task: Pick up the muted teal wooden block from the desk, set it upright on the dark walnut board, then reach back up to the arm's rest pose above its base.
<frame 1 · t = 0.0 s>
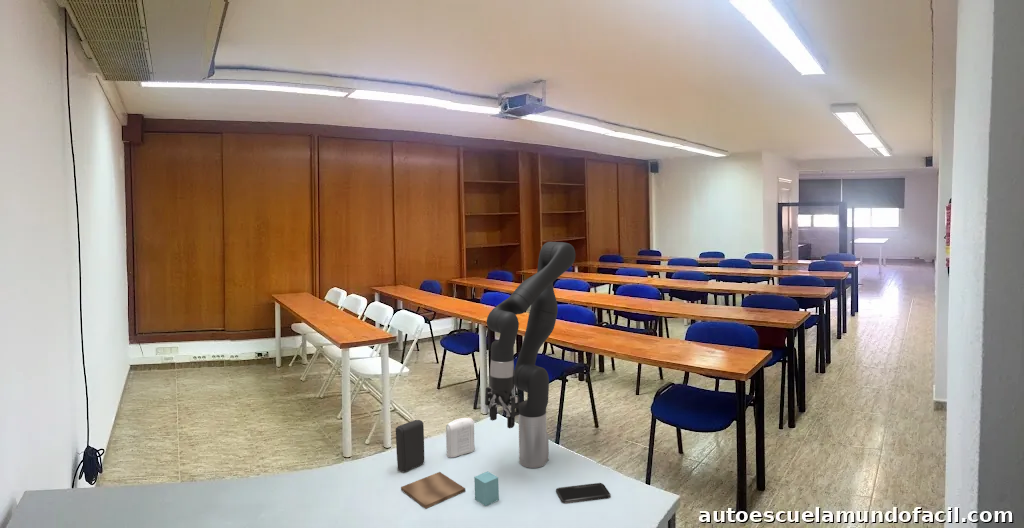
hand: (501, 423, 171), 17 cm above the table, tool pointing down, fingers open, 8 cm apart
teal block: (486, 499, 159), on the table
card reader: (411, 467, 180), on the table
phone: (582, 495, 161), on the table
walnut board: (433, 490, 164), on the table
photo printer: (460, 453, 189), on the table
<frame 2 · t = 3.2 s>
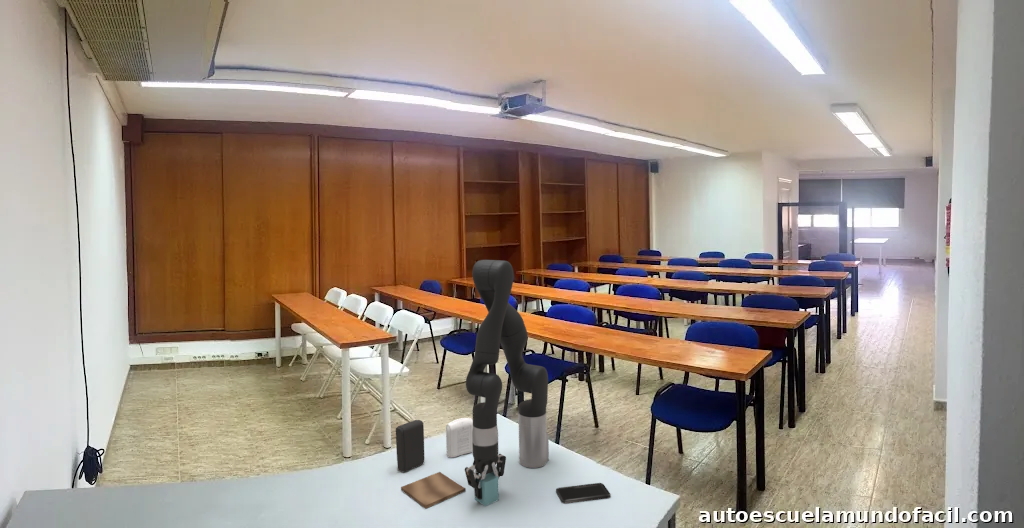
hand: (486, 494, 159), 1 cm above the table, tool pointing down, fingers closed on teal block, 5 cm apart
teal block: (486, 499, 159), on the table, touching gripper
everything else where it was.
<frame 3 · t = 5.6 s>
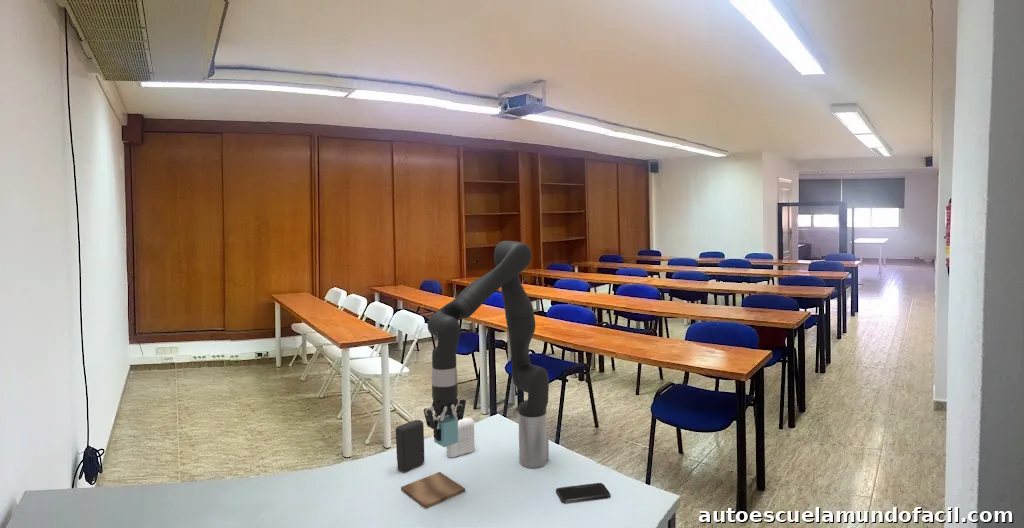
hand: (445, 437, 160), 18 cm above the table, tool pointing down, fingers closed on teal block, 5 cm apart
teal block: (446, 442, 160), point 16 cm above the table, touching gripper
everything else where it was.
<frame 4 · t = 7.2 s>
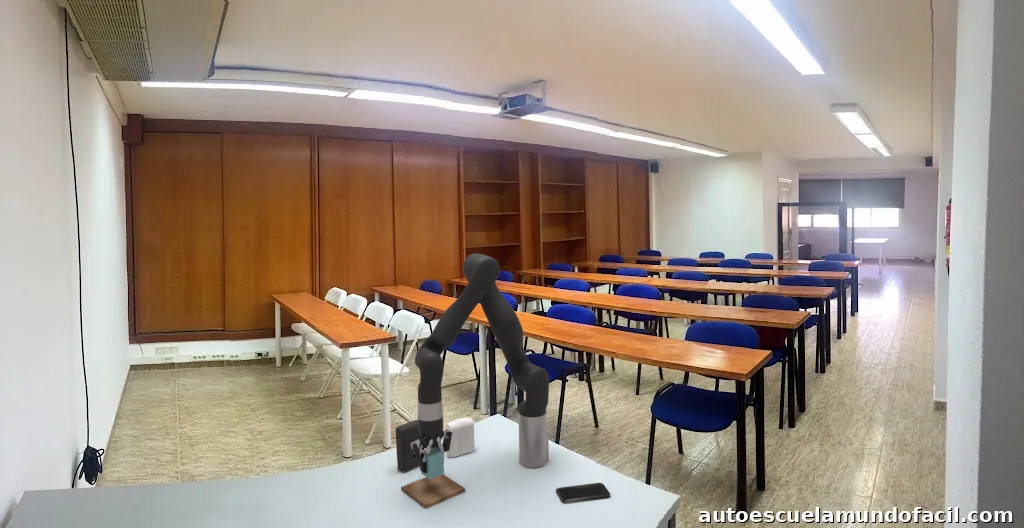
hand: (432, 468, 164), 7 cm above the table, tool pointing down, fingers closed on teal block, 5 cm apart
teal block: (432, 473, 164), point 5 cm above the table, touching gripper
everything else where it was.
when the fingers open (4 cm above the table, at t = 8.2 s): teal block drops 1 cm, resting on walnut board.
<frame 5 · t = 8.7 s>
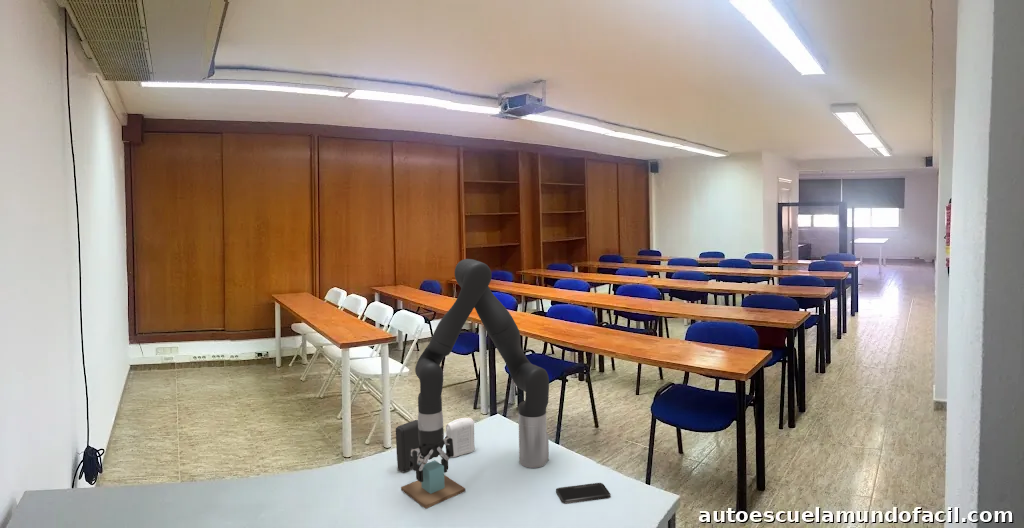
hand: (432, 476, 164), 5 cm above the table, tool pointing down, fingers open, 8 cm apart
teal block: (433, 487, 164), point 1 cm above the table, touching walnut board
everything else where it was.
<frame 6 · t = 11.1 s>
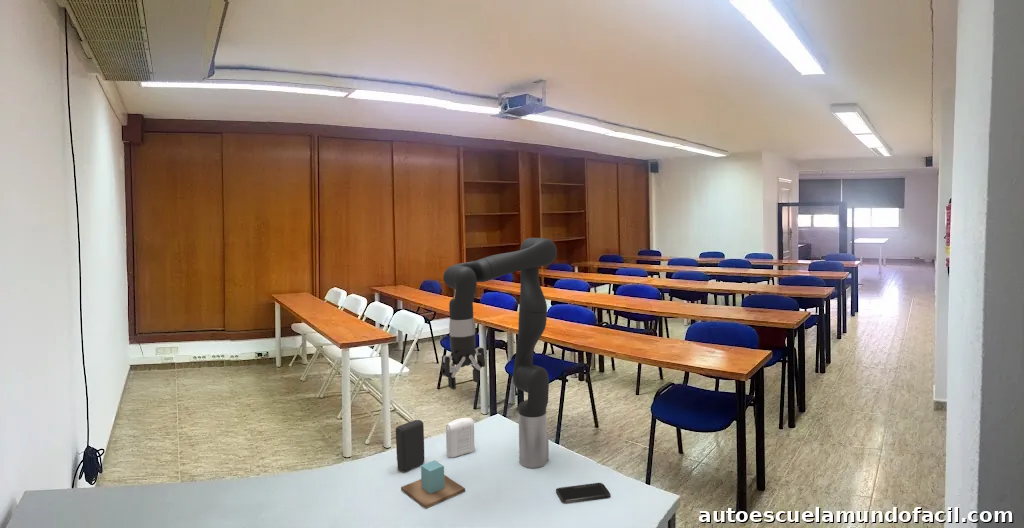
hand: (464, 385, 162), 32 cm above the table, tool pointing down, fingers open, 8 cm apart
nothing on the table moved.
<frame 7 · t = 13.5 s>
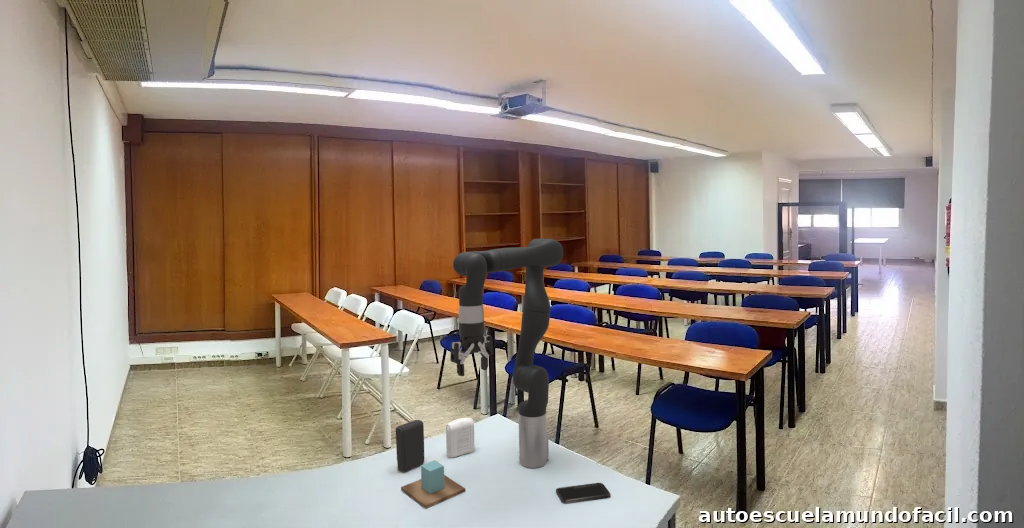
hand: (472, 372, 162), 36 cm above the table, tool pointing down, fingers open, 8 cm apart
nothing on the table moved.
at the end: teal block inside the target area on the walnut board (0.1 cm from its centre), point 1.0 cm above the walnut board's base; teal block tilted 0°; the gripper is holding nothing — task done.
